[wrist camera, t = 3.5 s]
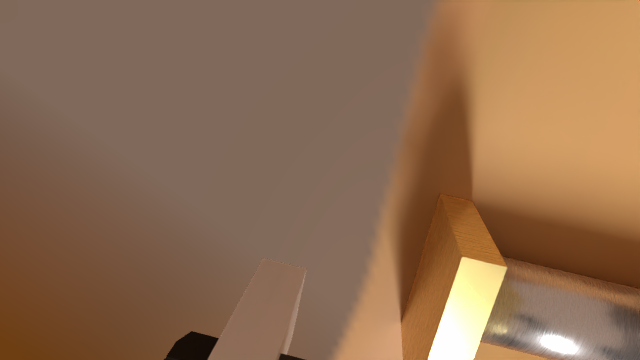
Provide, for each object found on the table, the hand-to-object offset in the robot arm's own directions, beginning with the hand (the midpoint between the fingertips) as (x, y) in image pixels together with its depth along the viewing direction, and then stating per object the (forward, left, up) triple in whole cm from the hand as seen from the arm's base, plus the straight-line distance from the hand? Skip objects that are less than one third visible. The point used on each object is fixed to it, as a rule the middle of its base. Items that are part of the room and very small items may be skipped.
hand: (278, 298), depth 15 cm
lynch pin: (+8, -8, -6) cm, 13 cm away
